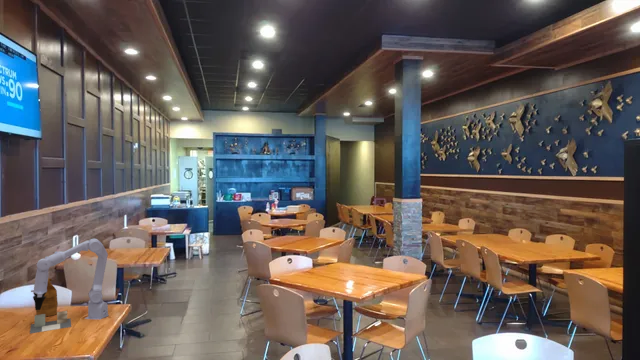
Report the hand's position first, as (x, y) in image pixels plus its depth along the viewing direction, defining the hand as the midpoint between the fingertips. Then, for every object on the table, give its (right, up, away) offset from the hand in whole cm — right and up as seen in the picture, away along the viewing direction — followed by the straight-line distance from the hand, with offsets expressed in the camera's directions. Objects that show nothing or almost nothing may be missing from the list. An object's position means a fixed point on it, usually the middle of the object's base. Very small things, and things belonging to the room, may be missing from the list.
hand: (38, 307), depth 220 cm
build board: (+7, -10, +1) cm, 12 cm away
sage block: (0, -10, +1) cm, 10 cm away
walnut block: (+9, -10, +6) cm, 14 cm away
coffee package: (-7, -10, +18) cm, 22 cm away
